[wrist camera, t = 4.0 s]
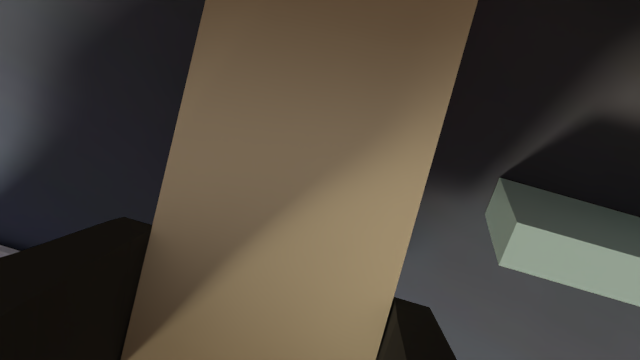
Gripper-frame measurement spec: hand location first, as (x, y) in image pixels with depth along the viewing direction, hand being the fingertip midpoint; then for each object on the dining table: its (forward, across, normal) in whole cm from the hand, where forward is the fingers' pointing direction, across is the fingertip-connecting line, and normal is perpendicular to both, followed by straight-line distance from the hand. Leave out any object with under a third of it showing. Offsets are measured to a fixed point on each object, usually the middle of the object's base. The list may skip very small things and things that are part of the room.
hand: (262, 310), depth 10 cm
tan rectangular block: (+6, 0, -4) cm, 7 cm away
